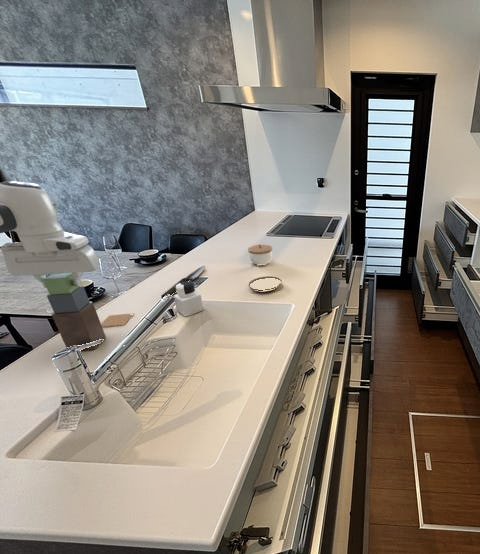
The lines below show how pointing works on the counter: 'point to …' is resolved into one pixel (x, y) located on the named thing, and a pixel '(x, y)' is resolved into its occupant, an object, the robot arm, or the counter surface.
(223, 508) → the counter surface
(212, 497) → the counter surface
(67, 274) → the green box
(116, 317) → the cork mat
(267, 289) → the plant saucer
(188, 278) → the kitchen knife
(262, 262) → the lidded bowl
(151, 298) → the counter surface
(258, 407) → the counter surface
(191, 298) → the medicine bottle
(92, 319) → the storage box
